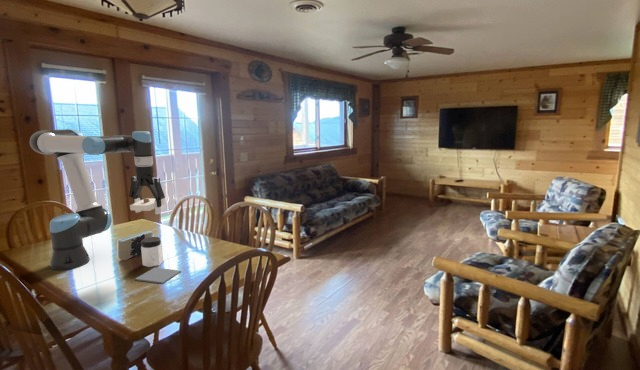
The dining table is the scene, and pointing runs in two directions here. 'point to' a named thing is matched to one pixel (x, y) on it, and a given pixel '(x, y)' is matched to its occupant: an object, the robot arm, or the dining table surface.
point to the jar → (151, 251)
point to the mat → (158, 275)
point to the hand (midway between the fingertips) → (148, 212)
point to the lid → (144, 204)
